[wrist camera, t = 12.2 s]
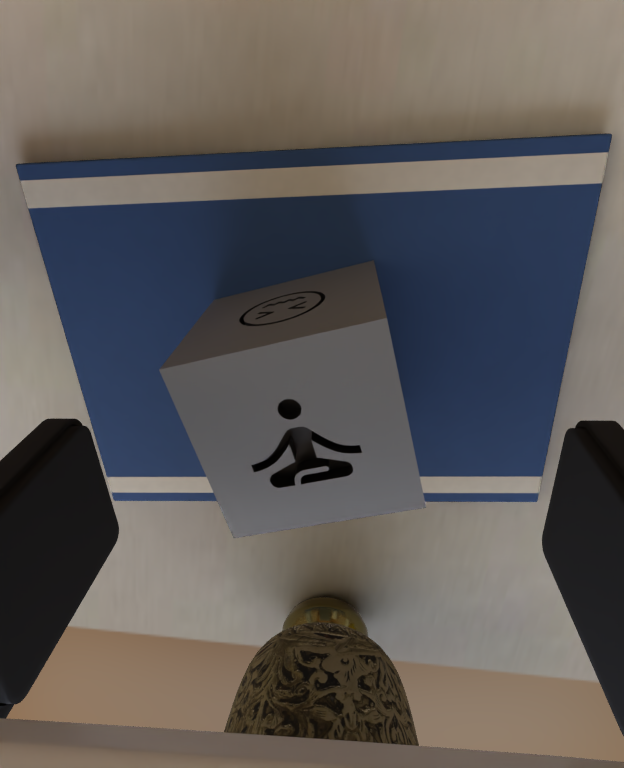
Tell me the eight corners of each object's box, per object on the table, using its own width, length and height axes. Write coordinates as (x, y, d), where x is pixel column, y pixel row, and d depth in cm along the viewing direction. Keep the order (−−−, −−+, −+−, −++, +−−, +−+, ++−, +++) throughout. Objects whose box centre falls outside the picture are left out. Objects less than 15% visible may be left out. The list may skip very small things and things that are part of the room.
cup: (330, 689, 24) (323, 918, 17) (211, 617, 22) (148, 841, 15) (444, 618, 22) (493, 857, 14) (319, 529, 20) (305, 753, 13)
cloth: (605, 133, 13) (613, 133, 12) (533, 494, 18) (537, 502, 18) (22, 163, 14) (14, 164, 14) (117, 494, 19) (113, 501, 19)
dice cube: (262, 433, 17) (233, 538, 13) (213, 299, 15) (158, 369, 11) (404, 406, 16) (426, 507, 12) (373, 260, 14) (386, 318, 10)
